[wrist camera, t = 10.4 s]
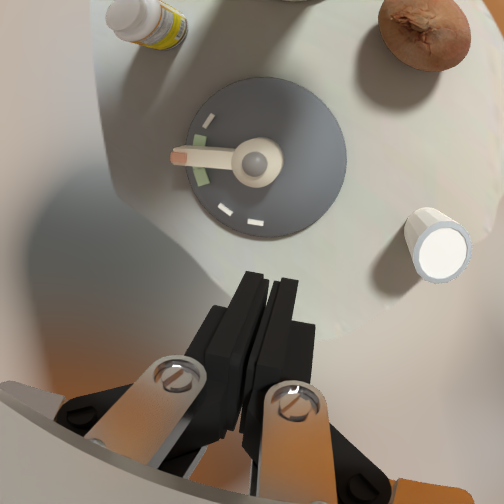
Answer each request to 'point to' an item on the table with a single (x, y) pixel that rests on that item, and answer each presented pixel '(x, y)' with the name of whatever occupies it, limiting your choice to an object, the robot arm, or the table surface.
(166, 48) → the supplement bottle
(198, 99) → the table surface
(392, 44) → the onion
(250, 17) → the table surface
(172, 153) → the lever
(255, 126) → the dial
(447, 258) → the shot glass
